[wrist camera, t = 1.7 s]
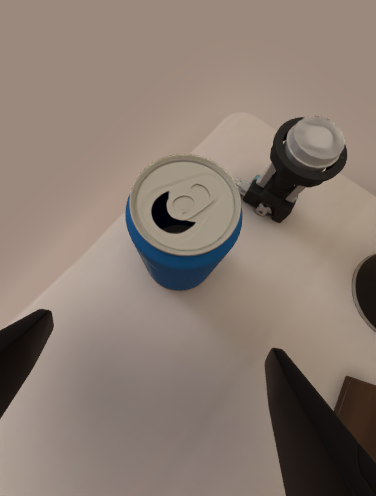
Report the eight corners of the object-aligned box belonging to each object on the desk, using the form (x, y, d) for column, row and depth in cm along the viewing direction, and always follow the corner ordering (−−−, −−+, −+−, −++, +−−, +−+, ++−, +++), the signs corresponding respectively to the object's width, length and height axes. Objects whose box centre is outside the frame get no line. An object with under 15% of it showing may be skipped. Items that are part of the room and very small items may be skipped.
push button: (220, 205, 25) (250, 137, 16) (242, 169, 27) (281, 86, 17) (276, 236, 25) (343, 184, 15) (295, 197, 26) (367, 127, 16)
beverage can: (133, 252, 23) (94, 189, 12) (184, 216, 25) (195, 127, 13) (173, 305, 22) (175, 293, 10) (225, 263, 23) (275, 212, 12)
